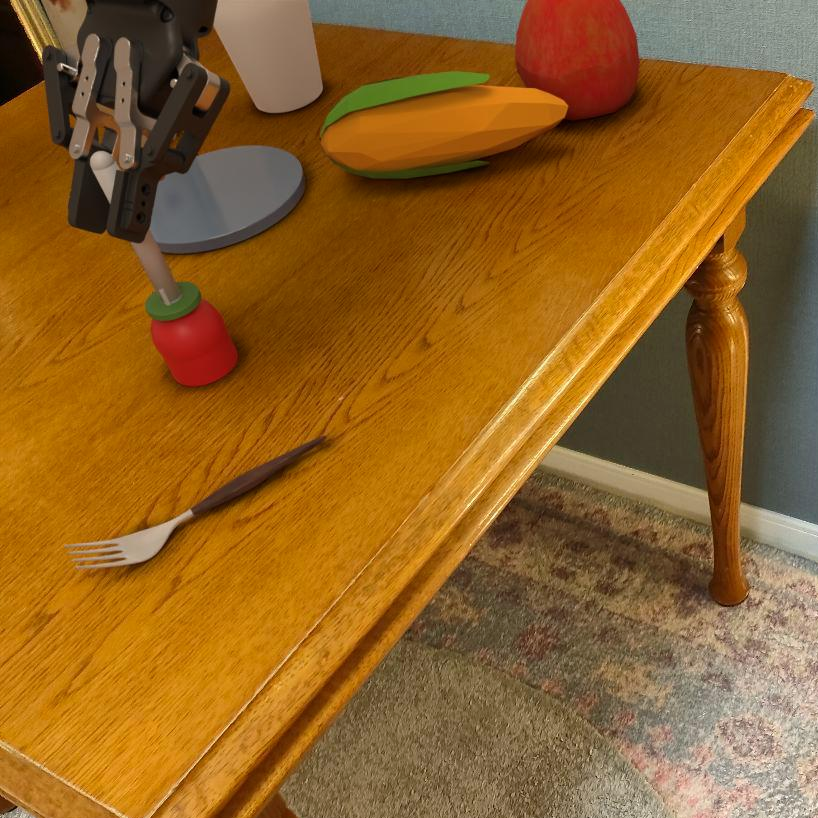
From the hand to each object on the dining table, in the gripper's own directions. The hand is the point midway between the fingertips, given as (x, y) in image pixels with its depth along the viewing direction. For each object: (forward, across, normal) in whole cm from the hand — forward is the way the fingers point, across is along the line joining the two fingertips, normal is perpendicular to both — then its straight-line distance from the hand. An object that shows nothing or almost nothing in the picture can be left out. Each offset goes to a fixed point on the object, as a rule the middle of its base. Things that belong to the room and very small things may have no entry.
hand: (105, 233), depth 59 cm
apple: (-21, -8, -38) cm, 44 cm away
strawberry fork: (+7, 0, -10) cm, 12 cm away
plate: (-5, +14, -22) cm, 27 cm away
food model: (-10, +30, -27) cm, 42 cm away
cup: (-17, +21, -34) cm, 43 cm away
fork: (+14, -10, -2) cm, 18 cm away
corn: (-13, -2, -30) cm, 32 cm away
